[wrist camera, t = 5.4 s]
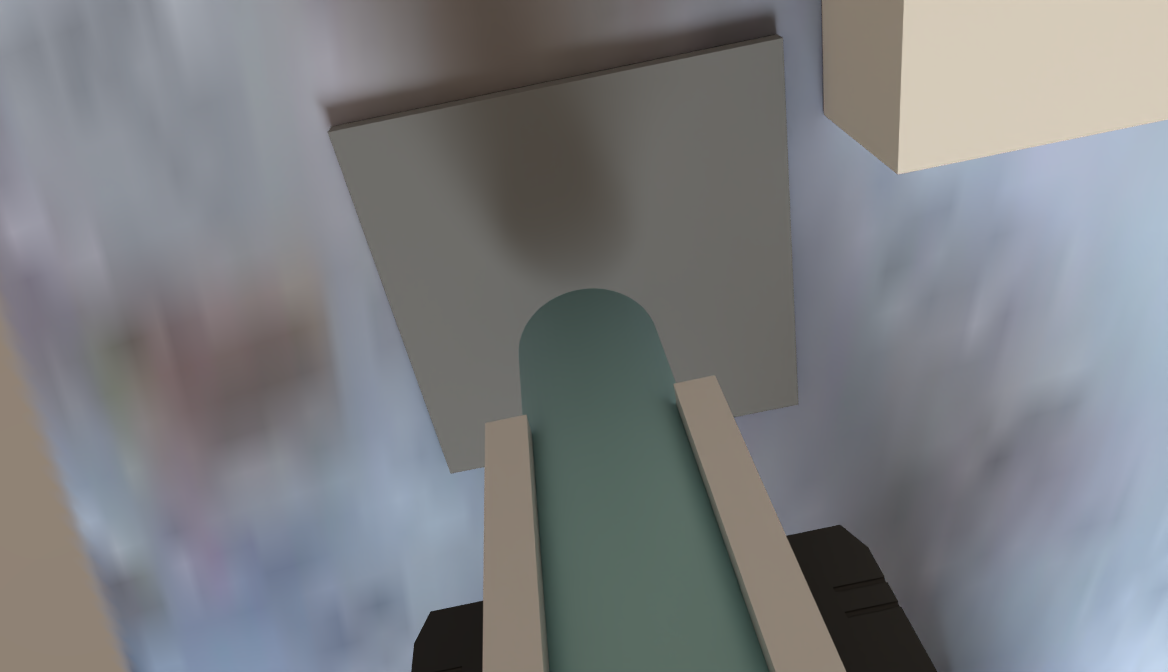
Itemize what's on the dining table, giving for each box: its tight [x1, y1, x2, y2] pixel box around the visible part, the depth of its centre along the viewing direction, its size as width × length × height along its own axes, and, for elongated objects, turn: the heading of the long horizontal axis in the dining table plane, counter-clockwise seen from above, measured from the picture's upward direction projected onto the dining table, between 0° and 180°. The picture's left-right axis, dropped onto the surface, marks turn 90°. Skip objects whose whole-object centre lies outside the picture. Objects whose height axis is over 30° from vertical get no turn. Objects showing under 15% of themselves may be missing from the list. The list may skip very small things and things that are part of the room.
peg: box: [519, 288, 769, 672], centre depth 13 cm, size 3×3×12 cm
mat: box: [328, 35, 798, 473], centre depth 20 cm, size 10×10×1 cm
